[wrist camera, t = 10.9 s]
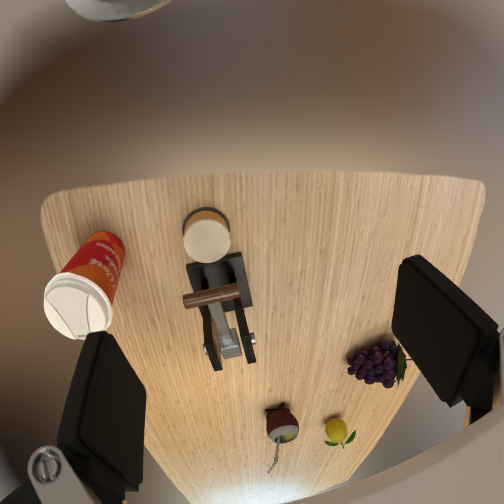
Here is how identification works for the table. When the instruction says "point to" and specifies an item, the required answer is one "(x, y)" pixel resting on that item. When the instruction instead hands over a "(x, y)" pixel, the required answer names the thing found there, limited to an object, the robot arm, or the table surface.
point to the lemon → (337, 432)
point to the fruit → (379, 364)
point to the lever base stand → (223, 302)
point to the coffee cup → (86, 288)
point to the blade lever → (218, 315)
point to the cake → (206, 235)
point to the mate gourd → (280, 427)
